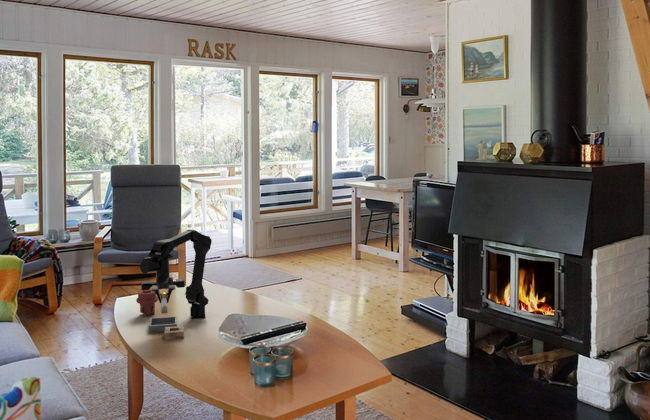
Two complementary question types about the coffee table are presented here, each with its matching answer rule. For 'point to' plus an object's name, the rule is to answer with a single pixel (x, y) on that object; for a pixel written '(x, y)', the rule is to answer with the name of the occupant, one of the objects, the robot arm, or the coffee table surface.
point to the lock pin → (164, 302)
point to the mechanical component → (147, 301)
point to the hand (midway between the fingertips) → (164, 302)
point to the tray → (161, 323)
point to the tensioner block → (174, 332)
